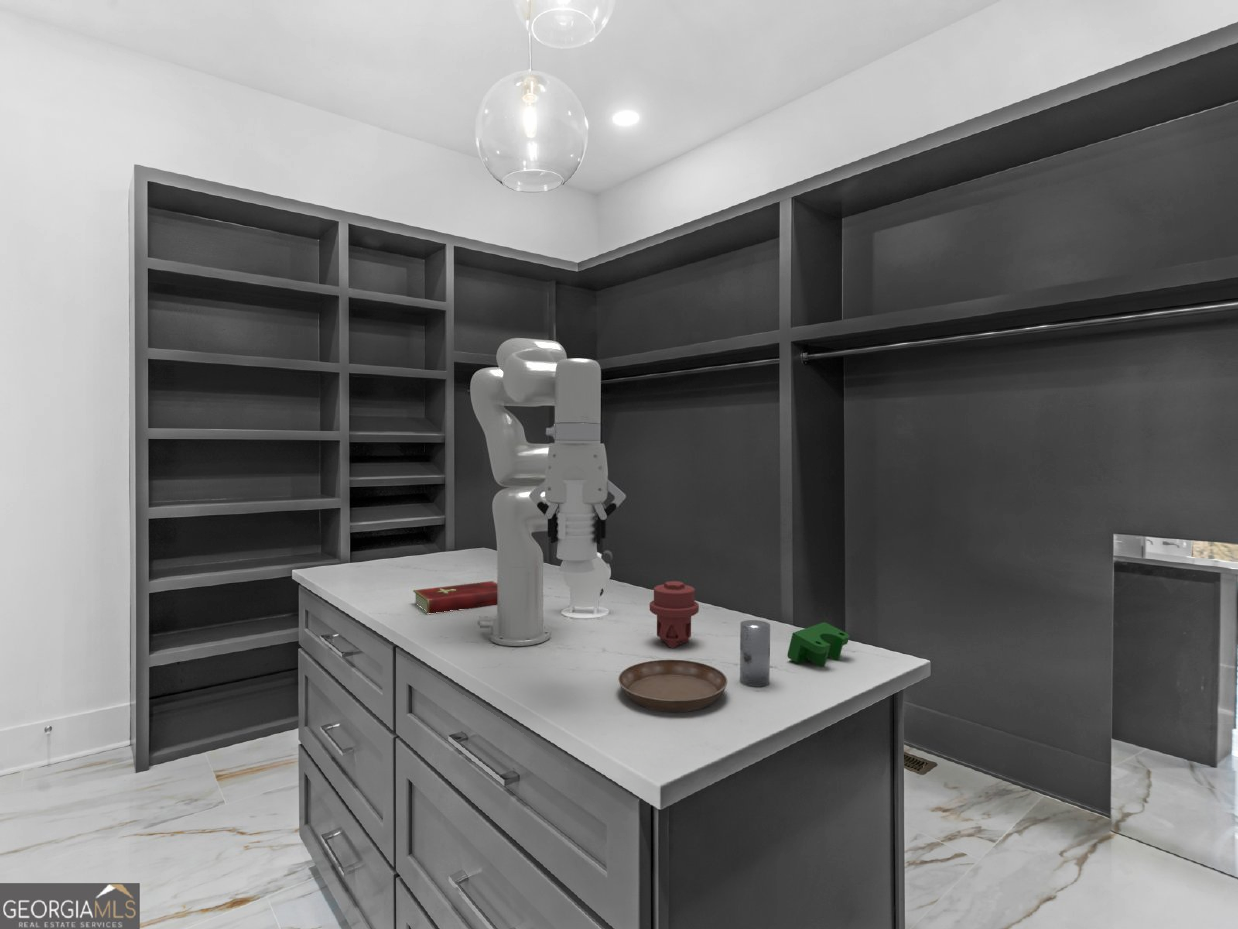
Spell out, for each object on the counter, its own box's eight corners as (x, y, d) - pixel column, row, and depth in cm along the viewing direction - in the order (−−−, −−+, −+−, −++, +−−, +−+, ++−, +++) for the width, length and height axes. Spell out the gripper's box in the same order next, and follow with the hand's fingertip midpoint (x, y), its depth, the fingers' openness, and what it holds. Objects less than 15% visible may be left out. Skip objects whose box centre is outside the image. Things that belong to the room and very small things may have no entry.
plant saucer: (647, 727, 94) (647, 706, 94) (601, 685, 110) (601, 667, 110) (749, 707, 101) (749, 688, 101) (692, 670, 118) (692, 654, 117)
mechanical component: (700, 637, 137) (696, 652, 127) (653, 634, 139) (645, 649, 129) (700, 579, 136) (696, 589, 126) (653, 577, 138) (646, 587, 128)
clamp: (814, 690, 119) (814, 653, 115) (787, 673, 124) (786, 637, 120) (851, 654, 126) (852, 618, 122) (824, 639, 130) (824, 604, 126)
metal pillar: (741, 686, 109) (741, 627, 109) (738, 675, 114) (739, 619, 114) (771, 687, 109) (772, 628, 108) (767, 677, 114) (768, 620, 113)
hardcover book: (510, 605, 165) (510, 588, 164) (427, 616, 153) (427, 599, 153) (492, 595, 175) (492, 580, 174) (413, 605, 163) (413, 589, 163)
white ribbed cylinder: (547, 569, 108) (547, 478, 107) (577, 563, 113) (578, 477, 112) (575, 575, 103) (575, 480, 102) (606, 568, 108) (606, 479, 107)
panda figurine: (614, 607, 161) (614, 547, 160) (608, 620, 149) (608, 555, 149) (566, 606, 162) (566, 546, 161) (557, 618, 151) (557, 554, 150)
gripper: (520, 434, 104) (520, 544, 105) (628, 435, 102) (627, 547, 103) (531, 434, 111) (530, 537, 112) (631, 435, 110) (630, 540, 110)
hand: (577, 541), depth 108 cm, fingers closed on white ribbed cylinder, 6 cm apart
